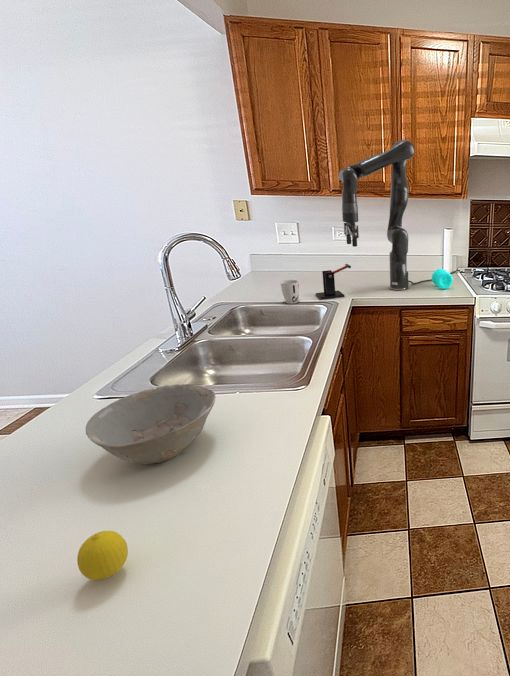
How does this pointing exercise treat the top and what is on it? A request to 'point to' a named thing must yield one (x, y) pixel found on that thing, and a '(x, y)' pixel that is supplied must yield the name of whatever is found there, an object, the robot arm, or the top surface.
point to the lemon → (102, 555)
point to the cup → (290, 291)
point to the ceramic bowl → (152, 422)
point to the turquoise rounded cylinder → (440, 282)
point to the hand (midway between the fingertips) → (351, 245)
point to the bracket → (329, 287)
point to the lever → (342, 268)
